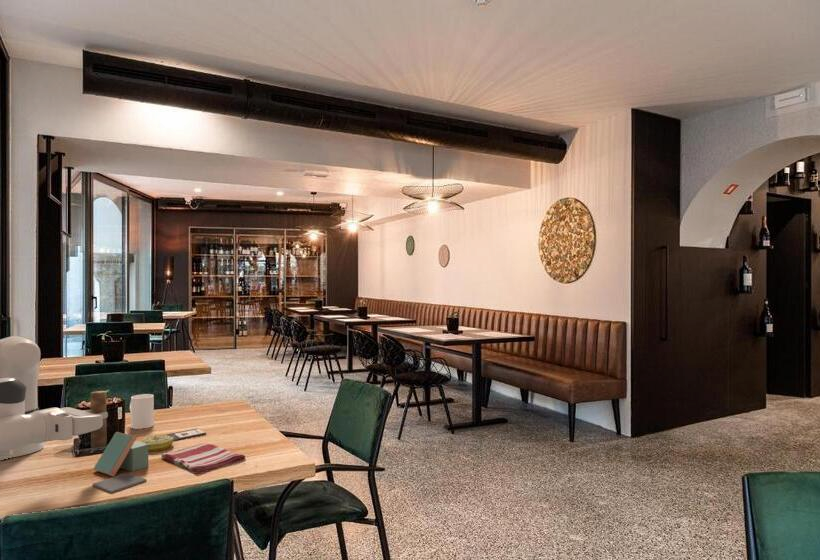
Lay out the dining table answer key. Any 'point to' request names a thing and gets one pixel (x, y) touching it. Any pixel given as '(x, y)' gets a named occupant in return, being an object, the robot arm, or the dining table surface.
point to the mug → (142, 411)
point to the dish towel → (202, 457)
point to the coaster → (119, 482)
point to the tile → (115, 453)
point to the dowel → (100, 406)
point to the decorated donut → (158, 442)
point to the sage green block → (136, 457)
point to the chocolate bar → (186, 434)
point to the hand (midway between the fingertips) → (101, 413)
